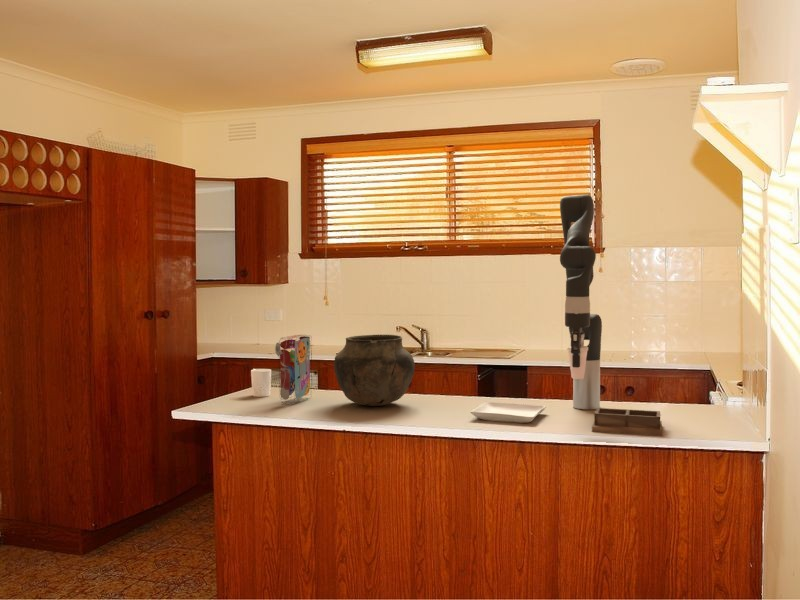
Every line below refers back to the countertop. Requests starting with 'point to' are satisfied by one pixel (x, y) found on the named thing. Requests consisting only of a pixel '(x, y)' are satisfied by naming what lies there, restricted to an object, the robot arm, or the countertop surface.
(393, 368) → the pot
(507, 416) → the salad plate
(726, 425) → the countertop surface
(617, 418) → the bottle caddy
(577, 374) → the smoothie
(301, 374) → the box
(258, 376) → the white cup
